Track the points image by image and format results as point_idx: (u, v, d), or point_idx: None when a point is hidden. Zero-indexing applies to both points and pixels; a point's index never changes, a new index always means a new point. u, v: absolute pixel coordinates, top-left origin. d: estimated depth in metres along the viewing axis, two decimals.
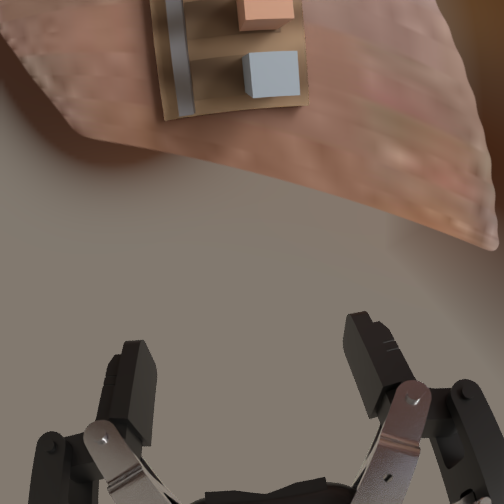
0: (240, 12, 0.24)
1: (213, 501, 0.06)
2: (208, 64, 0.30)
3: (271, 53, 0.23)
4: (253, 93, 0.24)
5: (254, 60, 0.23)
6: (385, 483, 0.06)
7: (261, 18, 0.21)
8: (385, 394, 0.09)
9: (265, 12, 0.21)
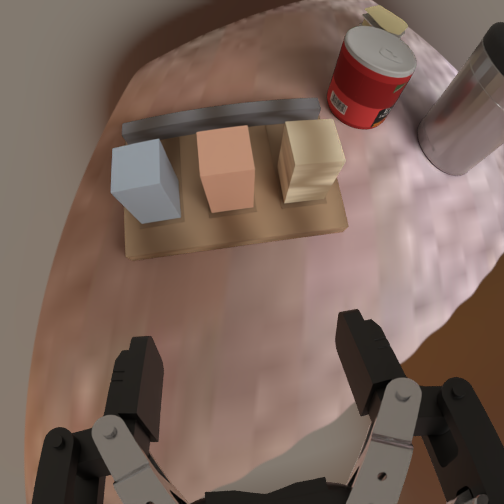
0: None
1: (213, 501, 0.06)
2: (173, 153, 0.32)
3: (157, 158, 0.23)
4: (117, 148, 0.23)
5: (150, 144, 0.23)
6: (379, 481, 0.06)
7: (198, 146, 0.24)
8: (375, 391, 0.09)
9: (205, 148, 0.23)
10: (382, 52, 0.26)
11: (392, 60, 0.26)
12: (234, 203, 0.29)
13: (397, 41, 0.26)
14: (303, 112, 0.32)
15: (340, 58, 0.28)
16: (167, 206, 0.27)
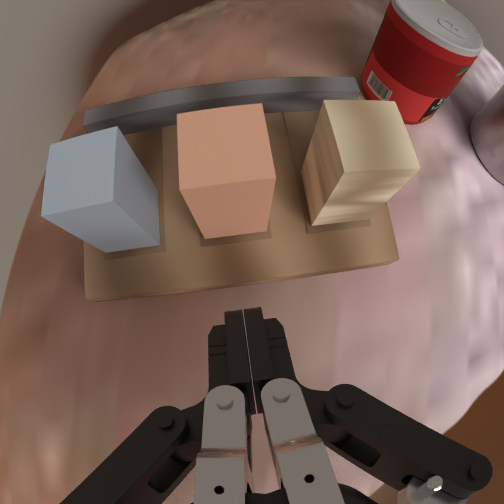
0: None
1: None
2: (152, 150, 0.23)
3: (111, 158, 0.13)
4: (56, 144, 0.14)
5: (103, 135, 0.14)
6: (310, 483, 0.06)
7: (179, 136, 0.14)
8: (261, 389, 0.10)
9: (190, 140, 0.14)
10: (442, 23, 0.16)
11: (454, 33, 0.16)
12: (238, 226, 0.19)
13: (455, 13, 0.16)
14: (336, 95, 0.22)
15: (385, 26, 0.18)
16: (135, 232, 0.17)
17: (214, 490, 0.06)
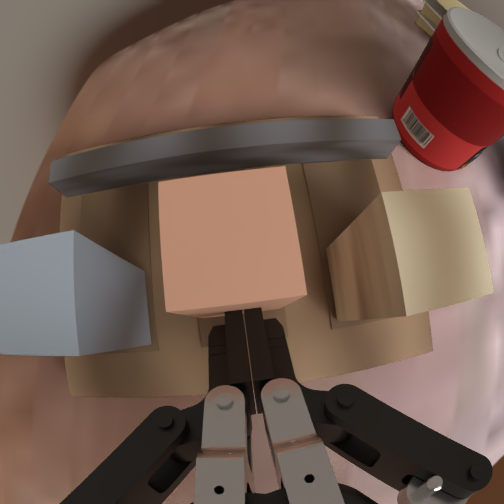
0: None
1: None
2: (137, 214, 0.18)
3: (69, 286, 0.09)
4: (0, 246, 0.09)
5: (56, 244, 0.09)
6: (310, 483, 0.06)
7: (162, 221, 0.09)
8: (261, 389, 0.10)
9: (179, 229, 0.09)
10: (502, 57, 0.12)
11: None
12: None
13: None
14: (371, 144, 0.17)
15: (434, 55, 0.14)
16: None
17: (214, 490, 0.06)
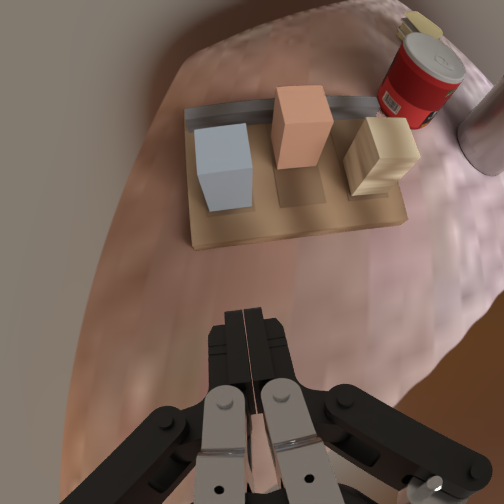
0: None
1: None
2: None
3: (246, 143, 0.23)
4: (199, 130, 0.23)
5: (237, 128, 0.23)
6: (310, 483, 0.06)
7: (279, 98, 0.24)
8: (260, 389, 0.10)
9: (286, 100, 0.24)
10: (437, 59, 0.26)
11: (445, 67, 0.26)
12: (301, 159, 0.30)
13: (447, 49, 0.26)
14: (364, 110, 0.32)
15: (398, 61, 0.28)
16: (245, 193, 0.27)
17: (214, 490, 0.06)
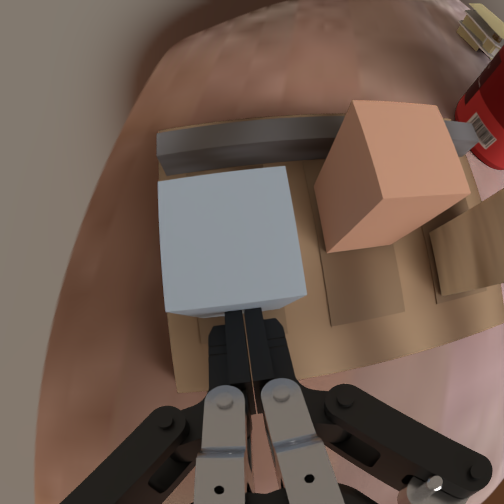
0: None
1: None
2: None
3: (289, 221, 0.09)
4: (170, 182, 0.10)
5: (264, 179, 0.10)
6: (310, 483, 0.06)
7: (363, 129, 0.10)
8: (261, 389, 0.10)
9: (380, 136, 0.10)
10: None
11: None
12: (375, 240, 0.16)
13: None
14: (457, 144, 0.18)
15: (503, 71, 0.15)
16: (273, 306, 0.13)
17: (214, 490, 0.06)
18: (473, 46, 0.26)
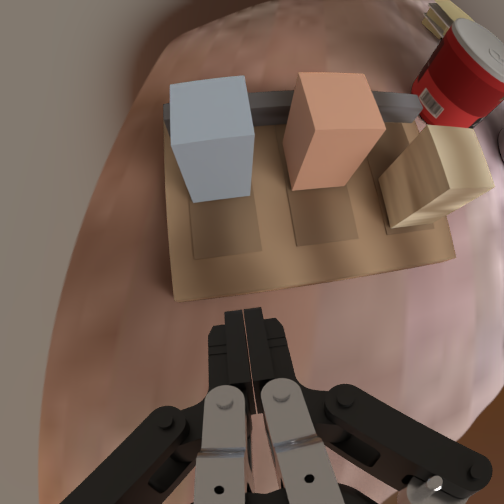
0: None
1: None
2: None
3: (245, 100, 0.15)
4: (177, 84, 0.15)
5: (231, 81, 0.15)
6: (310, 484, 0.06)
7: (304, 90, 0.15)
8: (261, 389, 0.10)
9: (316, 93, 0.15)
10: (492, 53, 0.17)
11: (502, 64, 0.17)
12: (327, 178, 0.21)
13: (499, 43, 0.18)
14: (403, 111, 0.23)
15: (445, 51, 0.20)
16: (242, 176, 0.19)
17: (214, 490, 0.06)
18: (436, 35, 0.31)
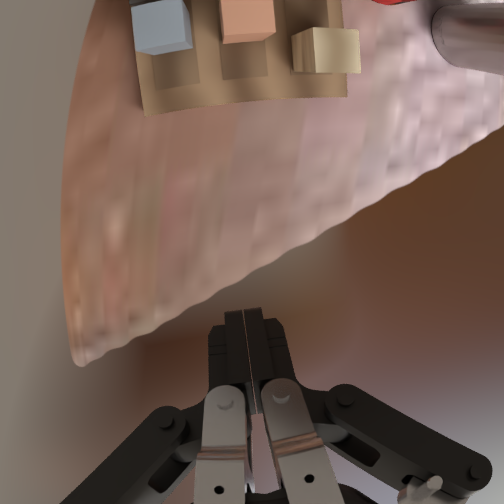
0: None
1: None
2: None
3: (180, 17, 0.19)
4: (136, 6, 0.18)
5: (172, 2, 0.18)
6: (310, 484, 0.06)
7: (222, 5, 0.19)
8: (261, 389, 0.10)
9: (229, 8, 0.19)
10: None
11: None
12: (246, 40, 0.26)
13: None
14: None
15: None
16: (184, 46, 0.24)
17: (214, 490, 0.06)
18: None
